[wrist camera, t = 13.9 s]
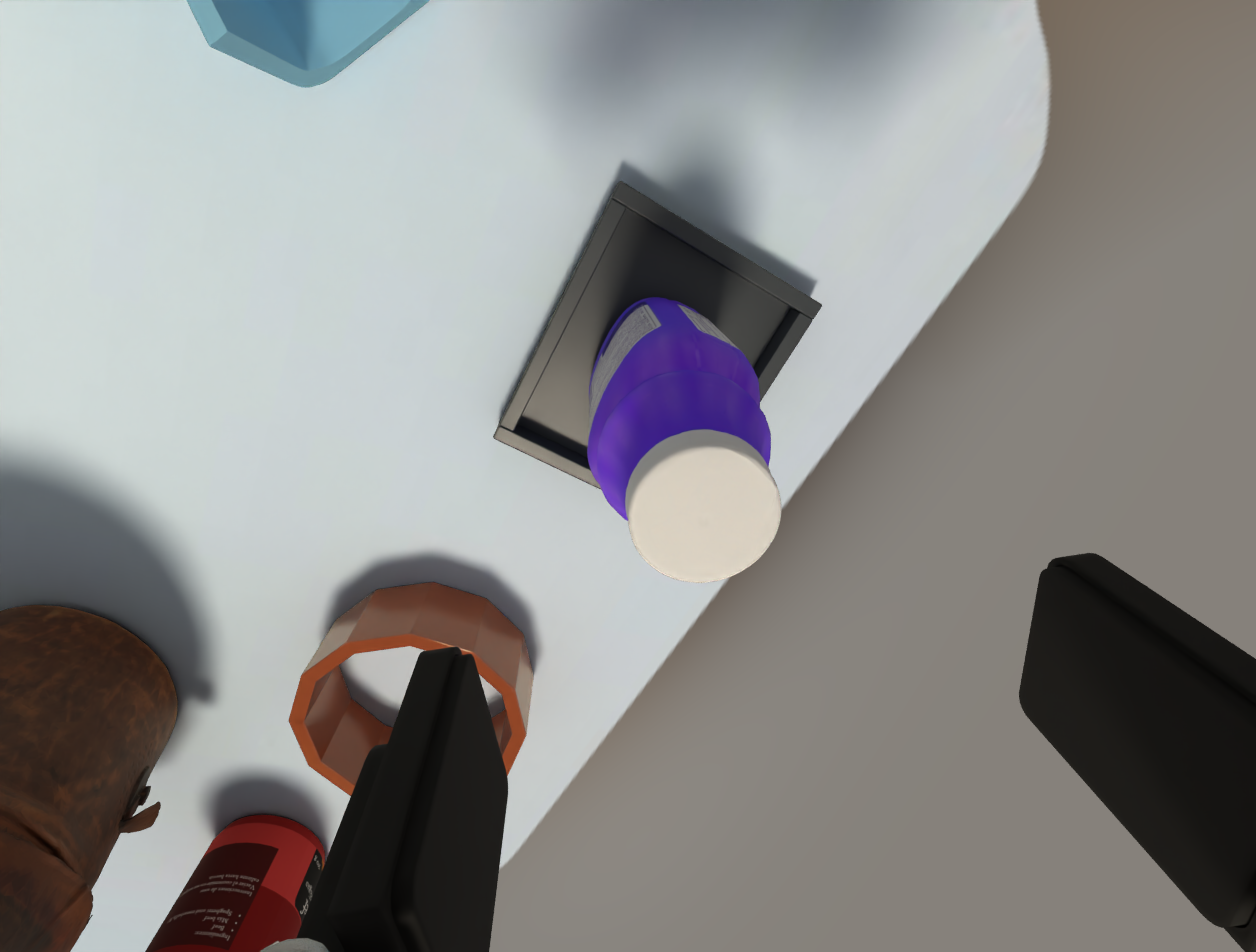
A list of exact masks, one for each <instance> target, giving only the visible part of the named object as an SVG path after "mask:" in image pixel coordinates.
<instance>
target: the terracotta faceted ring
mask: <svg viewBox="0 0 1256 952" xmlns="http://www.w3.org/2000/svg"><path fill="white" fill-rule="evenodd" d="M406 646H412V647H416V648H419V649H423V650H426V651H428V650H435V649H442V648H449V647H455V646H457V647H459V648H460V650H461V652H462V655H464V654H472V655H473V657H474V660H475V663H476V666H477V670H478V673H479V674H480V675H481V676H482V677H483V678H484V679H485V680H486V681H487V682H488V683H490V684H491V685H492V686H493V687H494V688H495V689H496V690H497V691H499V692H500V693H501V694H502V697H503V701H504V705H505V710H503V711H502V712H500V713H499V714H497V715H496V716H494V717H493V718H491V719H492V723H493V726H494V730H495V733H496V737H497V740H498V744H499V748H500V751H501V755H502V758H503V762H504V765H505V769H506V773H507V776H508V774H509V771H510V769H511V767H512V765H513V763H514V761H515V759H516V756H517V754H518V752H519V750H520V748H521V746H522V744H523V741H524V739H525V737H526V734H527V726H528V717H529V709H530V701H531V693H532V684H533V672H532V668H531V663H530V659H529V655H528V651H527V646H526V642H525V638H524V635H523V633H522V632H521V631H520V630H519V629H518V628H517V627H516V626H515V625H514V624H513V623H512V622H511V621H510V620H508V619H507V618H506V617H505V616H504V615H503V614H502V613H501V612H500V611H499V610H498V609H497V608H496V607H495V606H494V605H493V604H492V603H491V602H490V601H489V600H488V599H486V598H483V597H480V596H477V595H474V594H470V593H467V592H464V591H461V590H458V589H454V588H451V587H448V586H445V585H441V584H438V583H435V582H428V583H420V584H413V585H406V586H399V587H391V588H384V589H377V590H375V591H374V592H372V593H371V594H370V595H368V596H367V597H366V598H364V599H363V600H362V601H360V602H359V603H358V604H356V605H355V606H354V607H352V608H351V609H350V610H348V611H347V612H346V613H344V614H343V615H342V616H340V617H339V618H338V619H337V620H336V621H335V623H334V624H333V626H332V627H331V629H330V630H329V632H328V634H327V635H326V637H325V638H324V640H323V642H322V643H321V645H320V646H319V648H318V650H317V651H316V653H315V654H314V656H313V658H312V659H311V661H310V662H309V664H308V665H307V667H306V669H305V670H304V672H303V673H302V675H301V678H300V682H299V685H298V689H297V692H296V696H295V699H294V703H293V707H292V710H291V714H290V717H289V723H290V725H291V727H292V730H293V732H294V734H295V736H296V739H297V741H298V743H299V745H300V748H301V750H302V752H303V754H304V756H305V759H306V761H307V763H308V765H309V766H310V767H311V768H313V769H314V770H315V771H317V772H318V773H319V774H321V775H322V776H324V777H325V778H326V779H328V780H329V781H331V782H332V783H333V784H335V785H336V786H338V787H339V788H340V789H342V790H343V791H344V792H346V793H347V794H349V795H350V796H351V795H352V793H353V790H354V787H355V785H356V782H357V780H358V777H359V774H360V772H361V769H362V767H363V764H364V761H365V759H366V757H367V755H368V753H369V751H370V750H371V749H372V748H373V747H374V746H375V745H382V744H388V741H389V738H390V735H391V733H392V730H393V727H389V726H386V725H384V724H383V723H382V722H381V721H379V720H378V719H377V718H376V717H374V716H373V715H372V714H370V713H369V712H368V711H367V710H365V709H364V708H363V707H362V706H360V705H359V704H358V703H357V702H355V701H354V700H353V699H352V698H351V696H350V693H349V691H348V688H347V686H346V683H345V680H344V678H343V675H342V673H341V670H340V668H339V665H340V664H341V663H342V662H344V661H345V660H346V659H348V658H349V657H351V656H352V655H353V654H355V653H362V652H370V651H377V650H384V649H391V648H399V647H406Z"/></svg>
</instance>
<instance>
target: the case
mask: <svg viewBox="0 0 1256 952" xmlns="http://www.w3.org/2000/svg"><path fill="white" fill-rule="evenodd" d="M176 717H177V695H176V691H175V687H174V684H173V681H172V679H171V677H170V674H169V672H168V670H167V668H166V666H165V665H164V663H163V662H162V661H161V660H160V659H159V657H158V656H157V655H156V654H155V653H154V652H153V651H152V650H151V649H150V648H149V647H148V646H147V645H146V644H145V643H144V642H142V641H141V640H140V639H139V638H137V637H136V636H135V635H133V634H132V633H130V632H129V631H127V630H126V629H124V628H122V627H121V626H119V625H117V624H116V623H114V622H112V621H110V620H108V619H105V618H102V617H99V616H96V615H93V614H90V613H87V612H84V611H81V610H77V609H72V608H66V607H60V606H46V605H30V606H22V607H15V608H10V609H6V610H3V611H0V952H70V951H71V949H72V948H73V946H74V945H75V943H76V941H77V940H78V938H79V936H80V935H81V933H82V931H83V930H84V928H85V927H86V925H87V923H88V922H89V920H90V918H91V917H92V916H91V917H90V914H91V911H92V907H93V903H92V902H93V895H92V891H91V890H92V888H93V886H94V885H95V883H96V881H97V879H98V877H99V876H100V874H101V871H102V869H103V867H104V865H105V863H106V861H107V859H108V857H109V855H110V853H111V851H112V849H113V847H114V845H115V843H116V841H117V839H118V837H119V835H120V833H131V832H137V831H141V830H144V829H146V828H149V827H151V826H152V825H153V824H154V822H155V820H156V818H157V816H158V813H159V810H160V806H161V805H160V802H157V803H156V804H154V805H152V806H150V807H148V808H146V809H145V810H143V811H141V812H140V813H138V814H137V815H135V816H133V814H134V813H135V811H136V809H137V807H138V806H140V805H143V804H144V803H145V801H146V799H147V797H148V795H149V793H150V788H151V786H146V783H147V781H148V778H149V776H150V774H151V772H152V770H153V768H154V766H155V764H156V762H157V760H158V759H159V757H160V755H161V753H162V751H163V750H164V748H165V746H166V744H167V742H168V740H169V738H170V735H171V733H172V731H173V728H174V725H175V722H176ZM132 816H133V817H132ZM89 917H90V918H89Z"/></svg>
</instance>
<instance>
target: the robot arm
mask: <svg viewBox="0 0 1256 952" xmlns="http://www.w3.org/2000/svg"><path fill="white" fill-rule="evenodd" d="M1019 699H1020V704H1021V706H1022V709H1023V711H1024V713H1025V714H1026V716H1027V717H1028V718H1029V719H1030V721H1031V722H1032V723H1033V724H1034V725H1035V726H1036V727H1037V728H1038V730H1039V731H1040V732H1041V733H1042V734H1043V735H1044V736H1045V738H1046V739H1047V740H1048V741H1049V742H1050V743H1051V744H1052V745H1053V747H1054V748H1055V749H1056V750H1057V751H1058V752H1059V753H1060V754H1061V756H1062V757H1063V758H1064V759H1065V760H1066V761H1067V762H1068V763H1069V765H1070V766H1071V767H1072V768H1073V769H1074V770H1075V771H1076V773H1078V775H1079V776H1080V777H1081V778H1082V779H1083V781H1084V782H1085V783H1086V784H1087V785H1088V786H1089V787H1090V788H1091V790H1092V791H1093V792H1094V793H1095V794H1096V795H1097V796H1098V798H1099V799H1100V800H1101V801H1102V802H1103V803H1104V804H1105V805H1106V807H1107V808H1108V809H1109V810H1110V811H1111V812H1112V813H1113V814H1114V816H1115V817H1116V818H1117V819H1118V820H1119V821H1120V822H1121V824H1122V825H1123V826H1124V827H1125V828H1126V829H1127V830H1128V831H1129V832H1130V834H1131V835H1132V836H1133V837H1134V838H1135V839H1136V840H1137V842H1138V843H1139V844H1140V845H1141V846H1142V847H1143V848H1144V850H1146V852H1147V853H1148V854H1149V855H1150V856H1151V857H1152V859H1153V860H1154V861H1155V862H1156V863H1157V864H1158V865H1159V866H1160V868H1161V869H1162V870H1163V871H1164V872H1165V873H1166V874H1167V876H1168V877H1169V878H1170V879H1171V880H1172V881H1173V882H1174V883H1175V885H1176V886H1177V887H1178V888H1179V889H1180V890H1181V891H1182V893H1183V894H1184V895H1185V896H1186V897H1187V898H1188V899H1189V900H1190V902H1191V903H1192V904H1193V905H1194V906H1195V907H1196V908H1197V910H1198V911H1199V912H1200V913H1201V914H1202V915H1203V916H1204V917H1205V918H1206V919H1207V920H1209V921H1210V922H1212V923H1213V924H1214V925H1216V926H1219V927H1222V928H1224V929H1225V930H1226V931H1227V932H1228V933H1229V934H1230V935H1231V937H1232V938H1233V939H1234V940H1235V941H1236V942H1237V943H1238V944H1239V945H1240V946H1241V948H1242V949H1243V950H1244V951H1245V952H1256V659H1255V658H1254V657H1252V656H1251V655H1249V654H1247V653H1246V652H1244V651H1243V650H1241V649H1240V648H1238V647H1237V646H1235V645H1234V644H1232V643H1231V642H1229V641H1228V640H1226V639H1225V638H1223V637H1221V636H1220V635H1219V634H1217V633H1216V632H1214V631H1213V630H1211V629H1210V628H1208V627H1207V626H1205V625H1204V624H1202V623H1201V622H1199V621H1198V620H1196V619H1195V618H1193V617H1192V616H1190V615H1189V614H1187V613H1186V612H1184V611H1183V610H1181V609H1180V608H1178V607H1177V606H1175V605H1174V604H1172V603H1171V602H1169V601H1167V600H1166V599H1165V598H1163V597H1162V596H1160V595H1159V594H1157V593H1156V592H1154V591H1153V590H1151V589H1149V588H1148V587H1147V586H1145V585H1144V584H1142V583H1140V582H1139V581H1137V580H1136V579H1135V578H1133V577H1132V576H1130V575H1129V574H1127V573H1125V572H1124V571H1123V570H1121V569H1120V568H1118V567H1117V566H1115V565H1113V564H1112V563H1110V562H1109V561H1108V560H1106V559H1105V558H1103V557H1101V556H1099V555H1097V554H1094V553H1086V554H1079V555H1073V556H1066V557H1060V558H1055V559H1053V560H1052V561H1051V562H1050V563H1049V564H1048V567H1047V569H1045V570H1043V571H1042V572H1041V574H1040V577H1039V583H1038V588H1037V594H1036V600H1035V606H1034V611H1033V618H1032V622H1031V628H1030V634H1029V639H1028V645H1027V651H1026V656H1025V662H1024V668H1023V673H1022V679H1021V685H1020V690H1019ZM507 798H508V780H507V773H506V769H505V765H504V762H503V758H502V755H501V751H500V748H499V744H498V740H497V737H496V733H495V730H494V726H493V723H492V719H491V716H490V712H489V709H488V705H487V702H486V698H485V695H484V691H483V688H482V684H481V680H480V677H479V673H478V670H477V666H476V663H475V660H474V657H473V655H472V654H464V655H462V652H461V650H460V648H459V647H457V646H455V647H449V648H442V649H435V650H428V651H423V652H421V653H420V655H419V657H418V660H417V662H416V665H415V668H414V671H413V674H412V676H411V679H410V682H409V685H408V688H407V690H406V693H405V696H404V699H403V702H402V705H401V707H400V710H399V713H398V716H397V719H396V721H395V724H394V727H393V730H392V733H391V735H390V738H389V741H388V744H382V745H375V746H374V747H373V748H372V749H371V750H370V751H369V753H368V755H367V757H366V759H365V761H364V764H363V767H362V769H361V772H360V774H359V777H358V780H357V782H356V785H355V787H354V790H353V793H352V795H351V798H350V800H349V803H348V805H347V808H346V811H345V813H344V816H343V818H342V821H341V824H340V826H339V829H338V831H337V834H336V837H335V839H334V842H333V844H332V847H331V849H330V852H329V855H328V857H327V860H326V862H325V865H324V868H323V870H322V873H321V875H320V878H319V881H318V883H317V886H316V888H315V891H314V893H313V896H312V899H311V901H310V904H309V906H308V909H307V912H306V914H305V917H304V919H303V922H302V925H301V927H300V930H299V932H298V935H297V937H296V939H287V940H285V941H282V942H279V943H276V944H274V945H271V946H268V947H266V948H265V949H263V950H261V951H260V952H489V947H490V939H491V931H492V923H493V914H494V906H495V898H496V889H497V881H498V873H499V864H500V856H501V848H502V839H503V831H504V823H505V814H506V806H507Z"/></svg>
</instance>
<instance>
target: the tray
mask: <svg viewBox="0 0 1256 952" xmlns="http://www.w3.org/2000/svg"><path fill="white" fill-rule="evenodd" d="M650 297H660V298H666V299H668V300H674V301H678V302H680V303H682V304H684V305H686V306H688V307H690V308H693V309H694V310H696V311H697V312H698V313H699V314H701V315H702V316H704V317H705V318H707V319H708V320H709V321H710V322H711V323H713V324H714V325H715V326H716V327H717V328H718V329H719V330H720V331H721V332H722V333H723V334H724V335H725V336H726V337H727V338H728V339H729V340H730V341H731V342H732V343H733V344H734V345H735V346H736V347H737V348H739V349H740V350H741V351H742V352H743V354H744V355H745V356H746V358H747V359H748V361H749V363H750V364H751V366H752V368H753V369H754V371H755V374H756V376H757V378H758V382H759V391H760V401H761V400H762V398H763V397H764V395H765V394H766V392H767V391H768V389H769V387H770V386H771V384H772V383H773V381H774V380H775V378H776V377H777V375H778V373H779V372H780V370H781V369H782V367H783V366H784V364H785V363H786V361H787V359H788V358H789V356H790V355H791V353H792V352H793V350H794V349H795V347H796V345H797V344H798V342H799V341H800V339H801V338H802V336H803V335H804V333H805V331H806V330H807V328H808V327H809V325H810V324H811V322H812V319H814V317H815V316H816V314H817V313H818V311H819V310H820V308H821V307H822V304H820V303H819V302H817V301H815V300H814V299H812V298H811V297H809V296H807V295H806V294H804V293H802V292H801V291H799V290H798V289H796V288H794V287H793V286H791V285H789V284H788V283H786V282H784V281H783V280H781V279H780V278H778V277H776V276H775V275H773V274H771V273H770V272H768V271H767V270H765V269H763V268H762V267H760V266H758V265H757V264H755V263H754V262H752V261H750V260H749V259H747V258H745V257H744V256H742V255H741V254H739V253H737V252H736V251H734V250H732V249H731V248H729V247H728V246H726V245H724V244H723V243H721V242H719V241H718V240H716V239H715V238H713V237H711V236H710V235H708V234H706V233H705V232H703V231H702V230H700V229H698V228H697V227H695V226H693V225H692V224H690V223H689V222H687V221H685V220H684V219H682V218H680V217H679V216H677V215H675V214H674V213H672V212H671V211H669V210H667V209H666V208H664V207H662V206H661V205H659V204H658V203H656V202H654V201H653V200H651V199H649V198H648V197H646V196H645V195H643V194H641V193H640V192H638V191H636V190H635V189H633V188H632V187H630V186H628V185H627V184H625V183H623V182H622V181H620V182H619V183H618V184H617V186H616V188H615V190H614V192H613V194H612V196H611V198H610V200H609V202H608V204H607V206H606V208H605V210H604V212H603V214H602V216H601V218H600V220H599V222H598V224H597V226H596V228H595V230H594V232H593V234H592V236H591V239H590V241H589V243H588V245H587V247H586V249H585V251H584V253H583V255H582V257H581V259H580V261H579V263H578V265H577V267H576V269H575V271H574V273H573V275H572V277H571V279H570V281H569V283H568V285H567V287H566V289H565V291H564V293H563V295H562V297H561V299H560V301H559V303H558V305H557V307H556V309H555V311H554V313H553V315H552V317H551V319H550V321H549V323H548V326H547V328H546V330H545V332H544V334H543V336H542V338H541V340H540V342H539V344H538V346H537V348H536V350H535V352H534V354H533V356H532V358H531V360H530V362H529V364H528V366H527V368H526V370H525V372H524V374H523V376H522V378H521V380H520V382H519V384H518V386H517V388H516V390H515V392H514V394H513V396H512V398H511V400H510V402H509V404H508V406H507V408H506V411H505V413H504V415H503V417H502V419H501V421H500V423H499V425H498V427H497V429H496V431H495V434H494V436H493V438H494V439H496V440H498V441H500V442H502V443H504V444H507V445H509V446H511V447H513V448H515V449H517V450H519V451H521V452H523V453H525V454H528V455H530V456H532V457H534V458H536V459H538V460H540V461H542V462H544V463H546V464H549V465H551V466H553V467H555V468H557V469H559V470H561V471H563V472H565V473H567V474H570V475H572V476H574V477H576V478H578V479H580V480H582V481H584V482H586V483H588V484H591V485H593V486H595V487H597V488H599V489H601V487H600V485H599V483H598V482H597V481H596V479H595V478H594V476H593V474H592V472H591V469H590V466H589V462H588V456H587V448H588V439H589V385H590V379H591V375H592V371H593V368H594V365H595V362H596V359H597V356H598V354H599V351H600V349H601V347H602V345H603V343H604V341H605V339H606V337H607V335H608V333H609V331H610V330H611V328H612V327H613V325H614V324H615V322H616V321H617V319H618V318H619V317H620V316H621V314H622V313H623V312H624V311H625V310H626V309H627V308H628V307H630V306H631V305H632V304H634V303H635V302H637V301H639V300H642V299H645V298H650ZM601 490H602V489H601Z"/></svg>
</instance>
